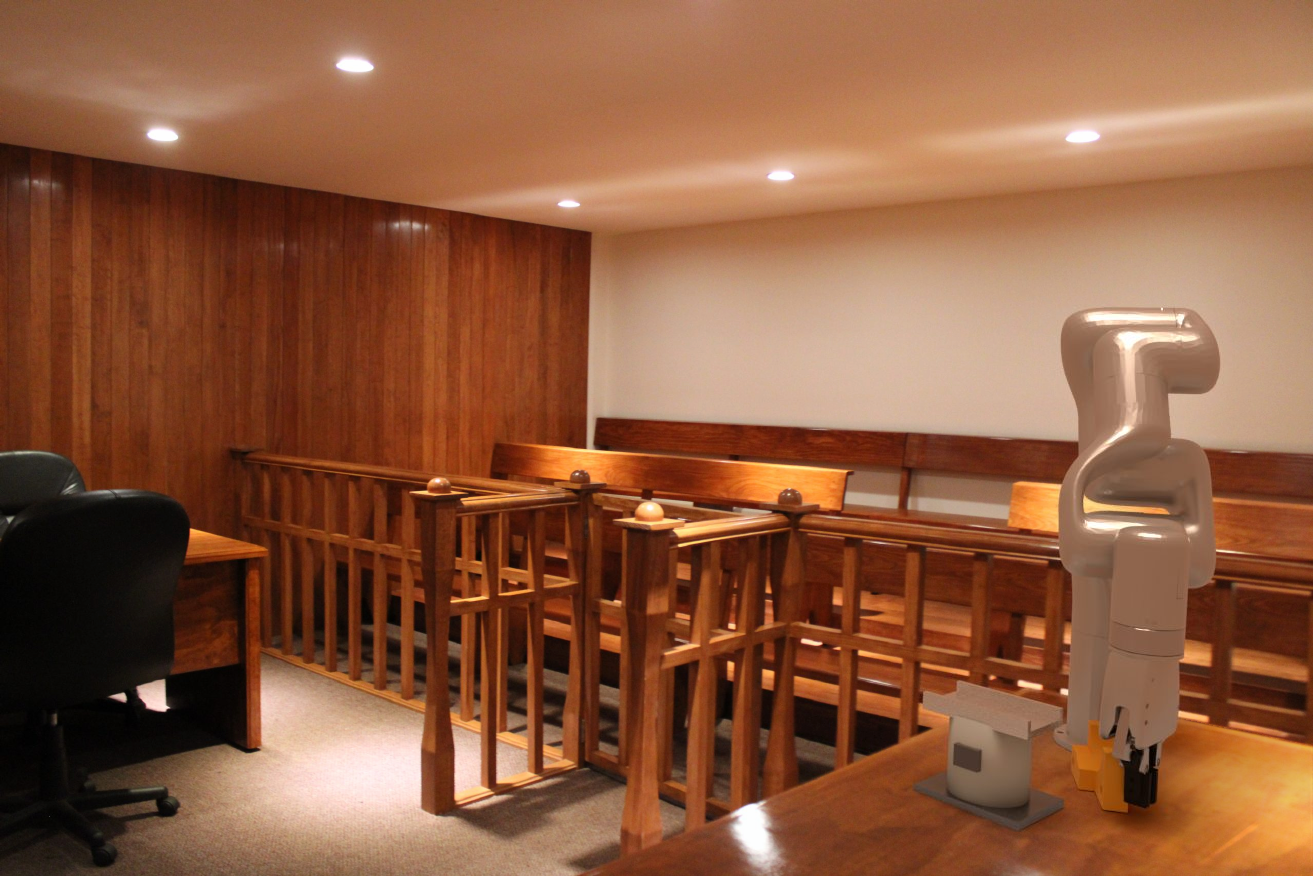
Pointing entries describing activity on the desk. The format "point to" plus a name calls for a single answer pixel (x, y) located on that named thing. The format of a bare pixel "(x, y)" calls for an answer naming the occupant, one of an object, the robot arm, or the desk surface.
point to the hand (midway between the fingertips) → (1137, 801)
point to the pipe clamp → (1099, 770)
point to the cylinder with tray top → (992, 754)
